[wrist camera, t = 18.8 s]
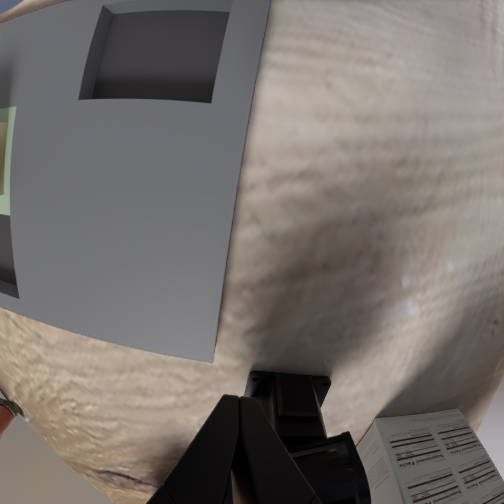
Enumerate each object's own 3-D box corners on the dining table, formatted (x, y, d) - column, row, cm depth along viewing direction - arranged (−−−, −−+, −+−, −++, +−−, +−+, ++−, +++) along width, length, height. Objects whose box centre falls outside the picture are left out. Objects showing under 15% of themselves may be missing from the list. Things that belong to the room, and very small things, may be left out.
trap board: (215, 345, 21) (212, 363, 19) (-22, 284, 19) (-34, 292, 17) (269, 6, 14) (272, -9, 12) (-10, 38, 12) (-24, 34, 10)
